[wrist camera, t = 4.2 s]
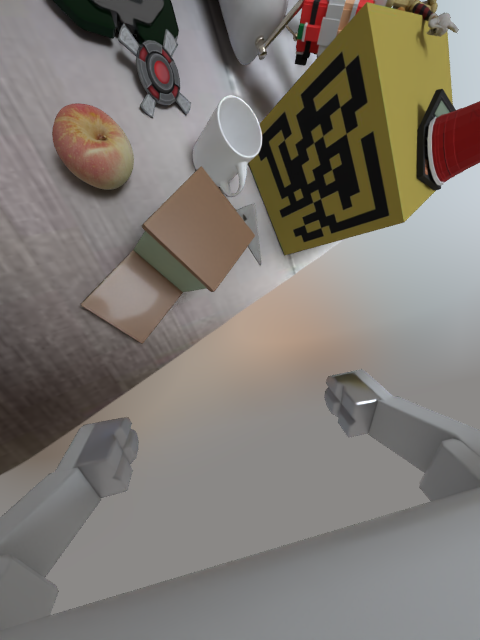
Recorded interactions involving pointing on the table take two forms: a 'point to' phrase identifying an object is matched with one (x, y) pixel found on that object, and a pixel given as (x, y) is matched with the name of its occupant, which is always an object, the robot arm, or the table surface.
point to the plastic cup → (454, 142)
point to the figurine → (324, 24)
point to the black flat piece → (123, 17)
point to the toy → (156, 71)
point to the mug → (228, 143)
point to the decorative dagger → (426, 14)
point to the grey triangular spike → (250, 219)
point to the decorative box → (352, 132)
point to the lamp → (256, 25)
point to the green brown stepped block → (173, 258)
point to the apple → (93, 146)
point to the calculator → (435, 109)
